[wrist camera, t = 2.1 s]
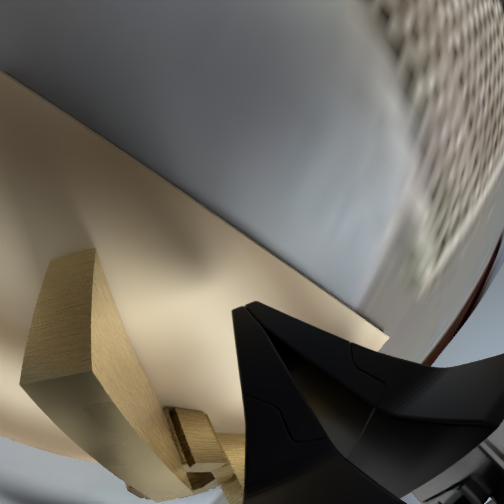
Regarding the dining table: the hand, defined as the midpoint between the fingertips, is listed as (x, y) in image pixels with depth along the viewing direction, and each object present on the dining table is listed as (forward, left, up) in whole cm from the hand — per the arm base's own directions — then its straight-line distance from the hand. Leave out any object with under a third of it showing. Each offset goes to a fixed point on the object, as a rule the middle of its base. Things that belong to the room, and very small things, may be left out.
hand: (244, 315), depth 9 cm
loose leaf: (-4, +2, -1) cm, 5 cm away
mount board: (-6, -2, -2) cm, 7 cm away
